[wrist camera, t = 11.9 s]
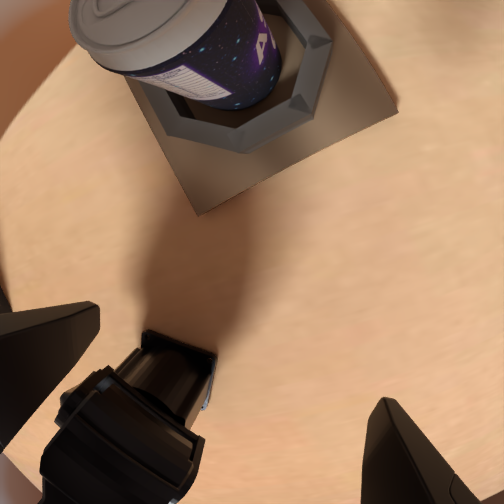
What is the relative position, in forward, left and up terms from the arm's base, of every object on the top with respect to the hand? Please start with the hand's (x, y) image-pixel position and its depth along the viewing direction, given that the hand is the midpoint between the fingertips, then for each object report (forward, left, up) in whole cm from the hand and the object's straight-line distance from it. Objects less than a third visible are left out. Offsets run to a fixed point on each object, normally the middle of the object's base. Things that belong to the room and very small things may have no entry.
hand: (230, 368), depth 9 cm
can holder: (+5, -11, -13) cm, 18 cm away
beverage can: (+5, -10, -12) cm, 17 cm away
